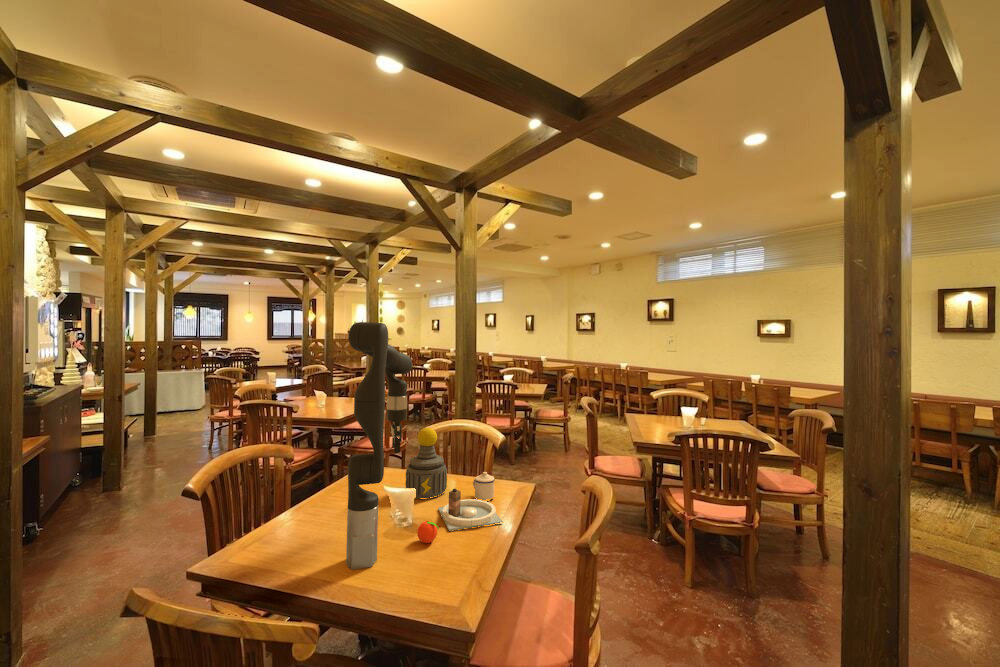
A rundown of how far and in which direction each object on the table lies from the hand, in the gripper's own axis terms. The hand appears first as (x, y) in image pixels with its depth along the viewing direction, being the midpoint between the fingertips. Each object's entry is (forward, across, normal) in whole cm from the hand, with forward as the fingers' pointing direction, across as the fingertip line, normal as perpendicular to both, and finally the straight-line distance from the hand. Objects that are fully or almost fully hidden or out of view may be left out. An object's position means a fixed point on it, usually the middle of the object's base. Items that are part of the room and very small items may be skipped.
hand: (396, 450), depth 154 cm
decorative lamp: (+28, +30, -17) cm, 45 cm away
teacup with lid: (+28, +16, -40) cm, 52 cm away
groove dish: (+28, -2, -29) cm, 40 cm away
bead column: (+27, -2, -23) cm, 36 cm away
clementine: (+28, -18, -10) cm, 35 cm away
